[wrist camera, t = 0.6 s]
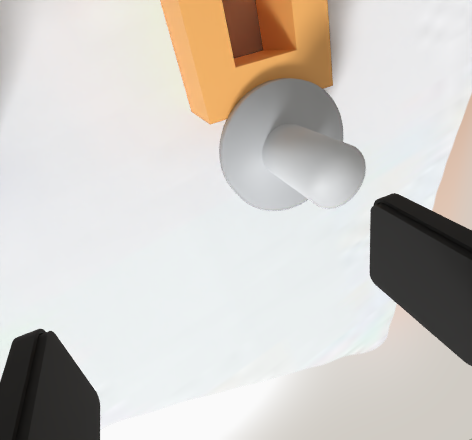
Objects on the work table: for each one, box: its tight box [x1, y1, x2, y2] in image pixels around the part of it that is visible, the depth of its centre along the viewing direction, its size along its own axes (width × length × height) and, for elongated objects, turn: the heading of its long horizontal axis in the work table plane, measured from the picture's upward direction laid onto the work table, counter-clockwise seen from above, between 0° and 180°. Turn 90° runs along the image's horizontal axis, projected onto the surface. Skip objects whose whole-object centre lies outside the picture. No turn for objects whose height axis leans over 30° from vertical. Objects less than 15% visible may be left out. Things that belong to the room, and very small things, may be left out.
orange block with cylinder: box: [160, 0, 365, 211], centre depth 27 cm, size 24×12×16 cm, turn 13°
